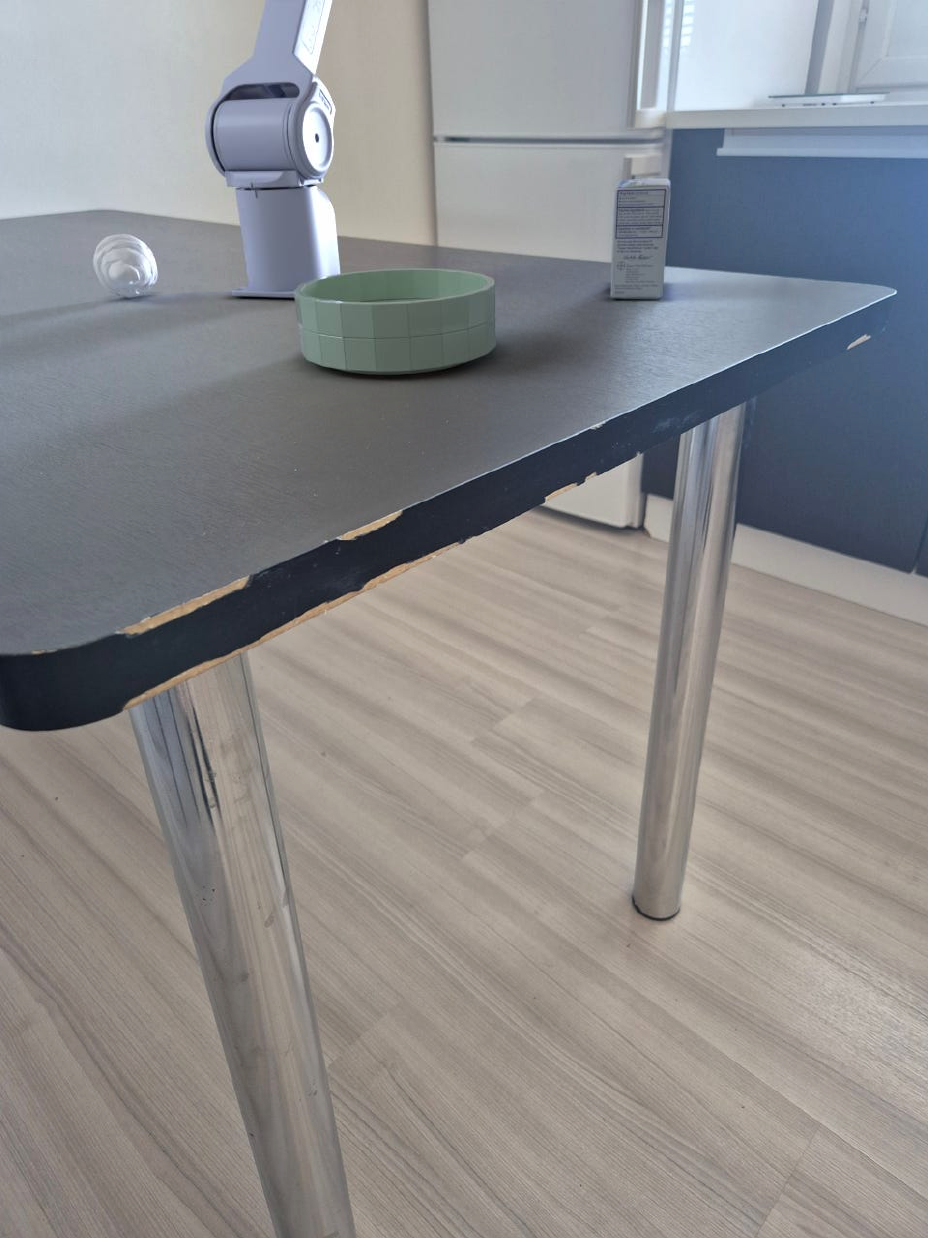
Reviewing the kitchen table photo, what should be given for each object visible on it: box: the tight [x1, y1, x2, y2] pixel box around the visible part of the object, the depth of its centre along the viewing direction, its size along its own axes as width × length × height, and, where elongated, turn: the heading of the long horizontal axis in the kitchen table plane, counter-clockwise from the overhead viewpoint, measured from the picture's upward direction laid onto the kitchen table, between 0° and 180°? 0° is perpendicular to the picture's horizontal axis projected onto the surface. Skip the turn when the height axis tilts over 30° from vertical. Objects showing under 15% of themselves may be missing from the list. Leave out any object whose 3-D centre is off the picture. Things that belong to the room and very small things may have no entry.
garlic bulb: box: [92, 233, 158, 299], centre depth 77 cm, size 6×6×5 cm
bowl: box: [294, 267, 497, 376], centre depth 56 cm, size 13×13×4 cm
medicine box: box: [610, 178, 671, 300], centre depth 72 cm, size 8×4×9 cm, turn 168°
